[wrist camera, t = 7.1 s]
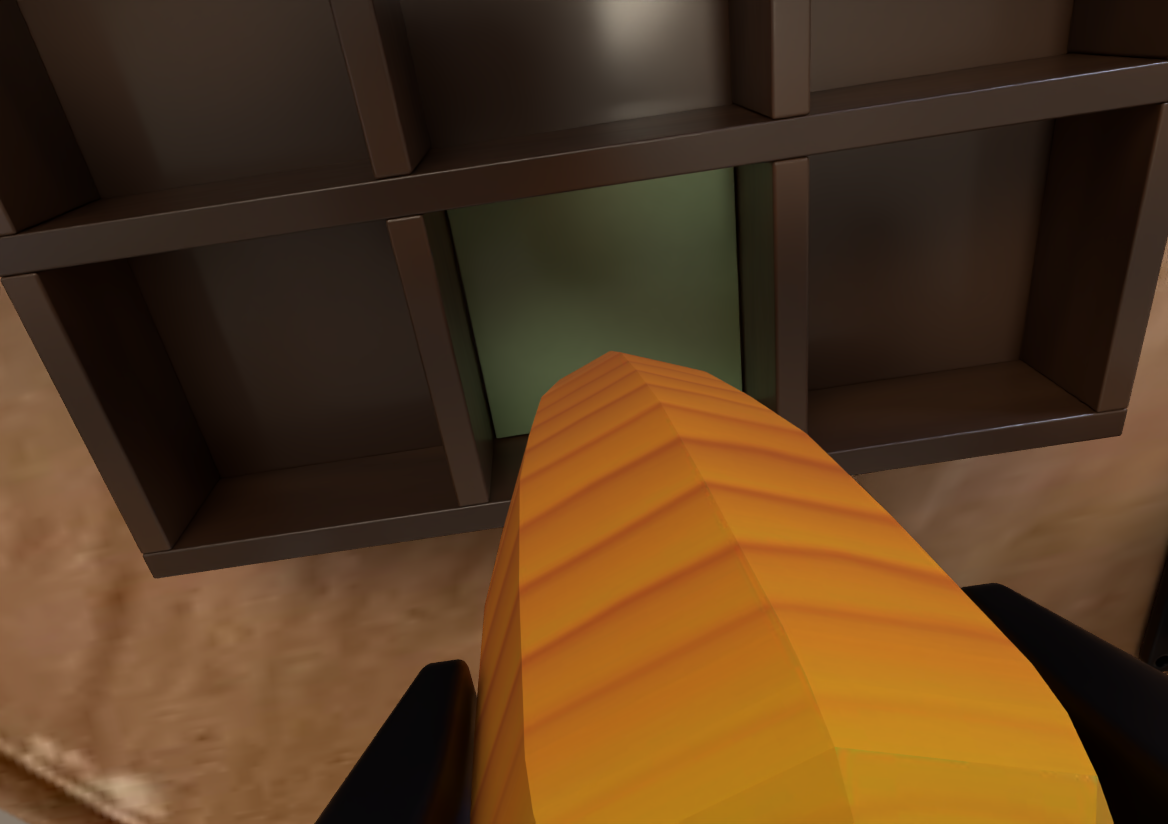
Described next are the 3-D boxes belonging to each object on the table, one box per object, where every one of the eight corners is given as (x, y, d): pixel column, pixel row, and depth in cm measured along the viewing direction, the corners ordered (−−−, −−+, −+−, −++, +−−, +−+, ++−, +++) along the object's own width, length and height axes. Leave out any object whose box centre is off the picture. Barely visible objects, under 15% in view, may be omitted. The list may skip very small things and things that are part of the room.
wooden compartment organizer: (1028, 370, 20) (1122, 436, 17) (212, 491, 20) (153, 579, 17) (1151, -402, 13) (1350, -536, 10) (-96, -211, 13) (-295, -284, 10)
